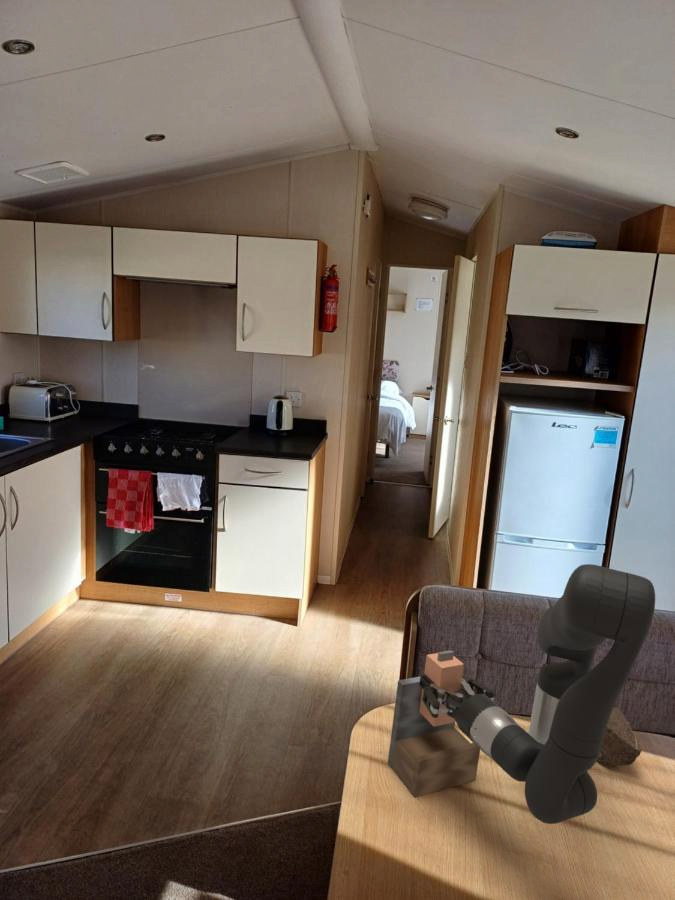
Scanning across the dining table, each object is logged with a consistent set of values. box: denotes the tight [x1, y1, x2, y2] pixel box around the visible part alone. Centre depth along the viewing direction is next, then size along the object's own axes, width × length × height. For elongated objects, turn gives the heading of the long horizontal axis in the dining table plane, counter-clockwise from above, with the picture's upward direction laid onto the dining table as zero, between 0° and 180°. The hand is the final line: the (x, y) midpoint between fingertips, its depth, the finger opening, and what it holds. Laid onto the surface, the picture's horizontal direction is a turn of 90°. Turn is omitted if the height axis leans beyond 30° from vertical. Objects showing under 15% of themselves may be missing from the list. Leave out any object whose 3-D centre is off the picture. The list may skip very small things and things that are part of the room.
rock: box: [597, 706, 643, 767], centre depth 135 cm, size 12×10×10 cm
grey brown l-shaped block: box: [387, 675, 481, 798], centre depth 125 cm, size 14×10×18 cm
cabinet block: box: [419, 649, 464, 727], centre depth 124 cm, size 5×5×14 cm
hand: (433, 676), depth 126 cm, fingers closed on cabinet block, 5 cm apart
